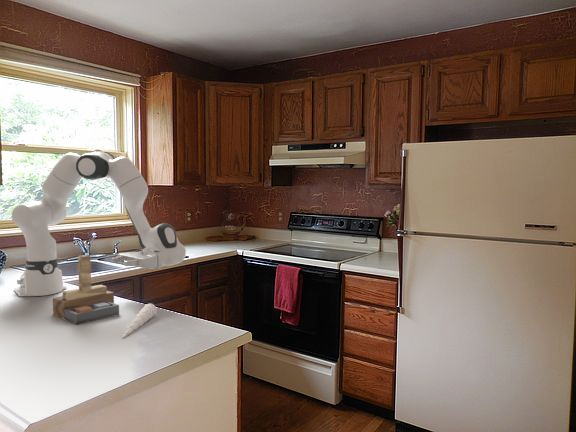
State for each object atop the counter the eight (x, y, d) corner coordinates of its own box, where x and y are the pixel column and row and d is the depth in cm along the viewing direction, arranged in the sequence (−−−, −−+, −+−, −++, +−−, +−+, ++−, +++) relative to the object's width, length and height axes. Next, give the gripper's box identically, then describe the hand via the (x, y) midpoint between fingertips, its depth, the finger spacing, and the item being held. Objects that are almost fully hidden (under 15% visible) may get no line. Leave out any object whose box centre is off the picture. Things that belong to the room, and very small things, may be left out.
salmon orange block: (80, 310, 148) (80, 319, 149) (92, 307, 151) (92, 316, 152) (75, 308, 151) (75, 316, 151) (86, 305, 154) (87, 314, 154)
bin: (64, 319, 152) (64, 309, 151) (106, 310, 163) (106, 300, 163) (76, 324, 146) (76, 314, 146) (119, 314, 157) (118, 304, 157)
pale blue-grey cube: (99, 306, 153) (99, 315, 153) (110, 304, 156) (110, 312, 156) (93, 304, 156) (93, 312, 156) (104, 302, 159) (104, 310, 159)
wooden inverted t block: (63, 298, 156) (61, 257, 155) (101, 291, 167) (100, 253, 166) (68, 300, 154) (66, 258, 153) (106, 292, 164) (105, 254, 163)
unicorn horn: (110, 339, 133) (110, 323, 133) (144, 316, 157) (144, 302, 156) (125, 339, 133) (125, 323, 132) (157, 316, 156) (157, 303, 156)
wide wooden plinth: (53, 314, 157) (52, 297, 157) (102, 304, 171) (101, 288, 171) (64, 319, 152) (63, 302, 151) (114, 308, 165) (113, 292, 165)
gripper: (136, 247, 188) (104, 251, 178) (164, 252, 175) (132, 257, 165) (136, 262, 189) (105, 266, 178) (164, 268, 176) (132, 273, 165)
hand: (118, 262), depth 171 cm, fingers open, 8 cm apart
